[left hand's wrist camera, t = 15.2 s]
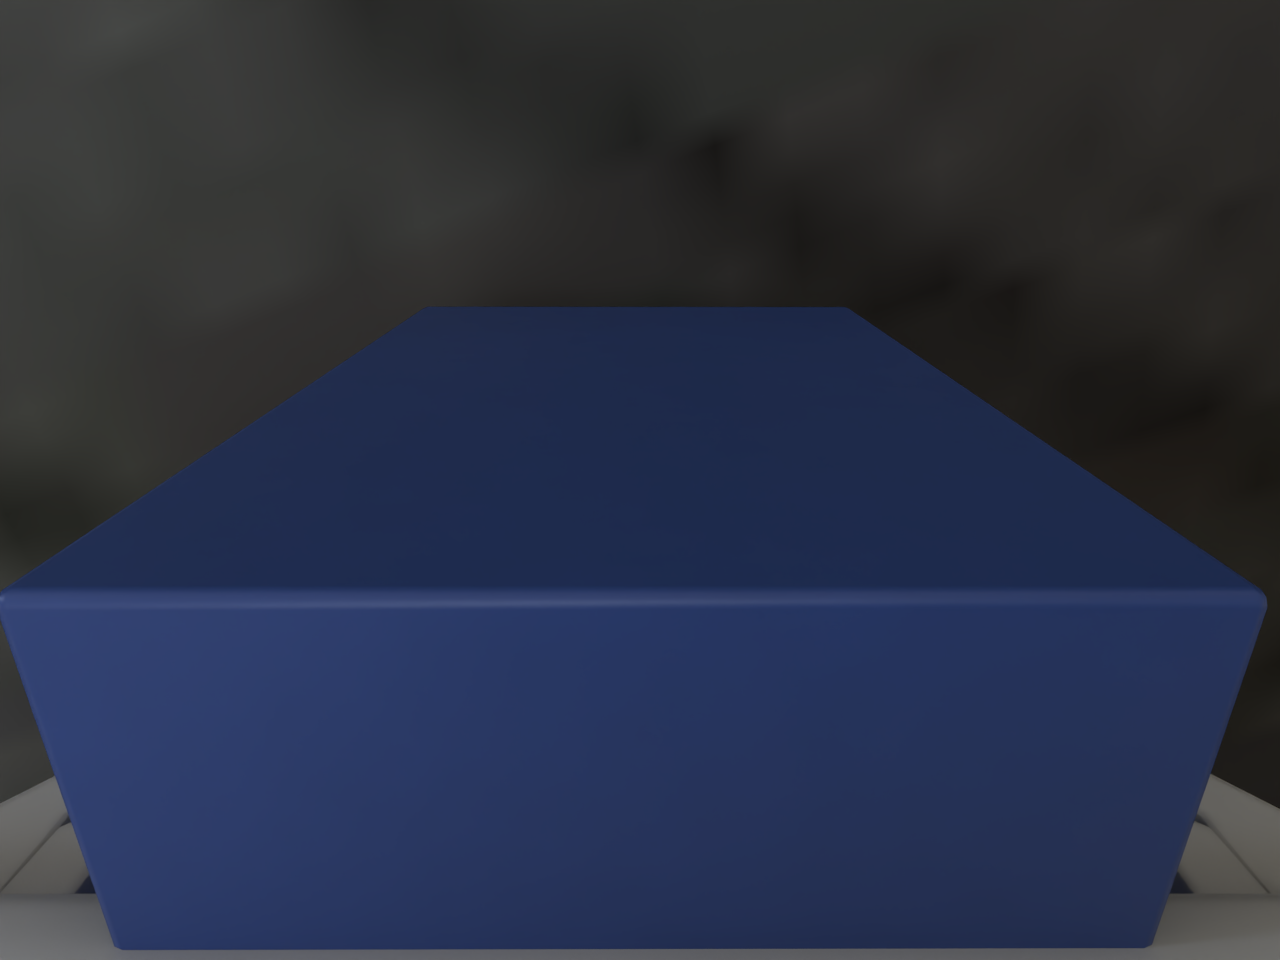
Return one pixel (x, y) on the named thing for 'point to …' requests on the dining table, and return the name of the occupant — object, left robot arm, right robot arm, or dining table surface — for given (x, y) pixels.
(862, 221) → the dining table surface
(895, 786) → the box
